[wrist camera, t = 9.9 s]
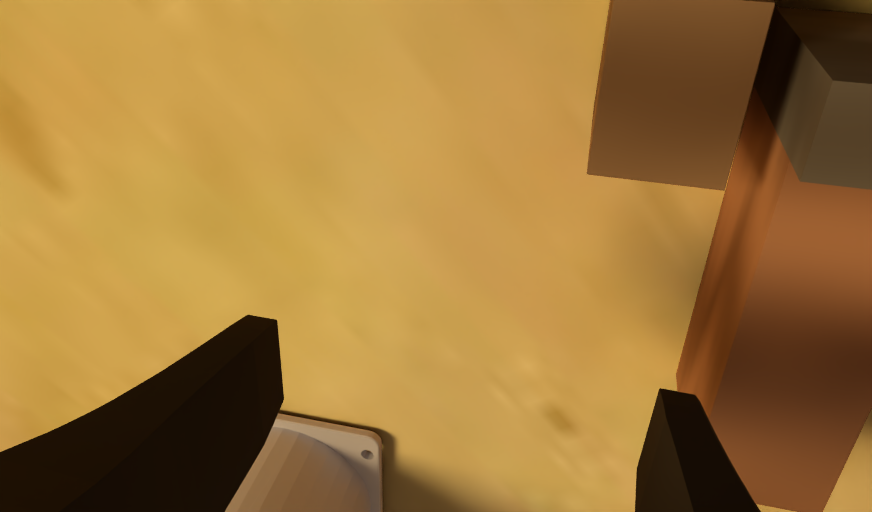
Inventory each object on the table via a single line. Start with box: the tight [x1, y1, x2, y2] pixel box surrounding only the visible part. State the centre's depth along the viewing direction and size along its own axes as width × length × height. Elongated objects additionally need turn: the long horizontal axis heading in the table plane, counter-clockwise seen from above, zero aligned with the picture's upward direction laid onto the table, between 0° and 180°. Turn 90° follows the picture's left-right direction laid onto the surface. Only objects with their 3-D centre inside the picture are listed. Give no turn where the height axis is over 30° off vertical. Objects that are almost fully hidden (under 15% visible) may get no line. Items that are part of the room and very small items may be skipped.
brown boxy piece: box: [676, 7, 872, 512], centre depth 18 cm, size 12×4×6 cm, turn 178°
